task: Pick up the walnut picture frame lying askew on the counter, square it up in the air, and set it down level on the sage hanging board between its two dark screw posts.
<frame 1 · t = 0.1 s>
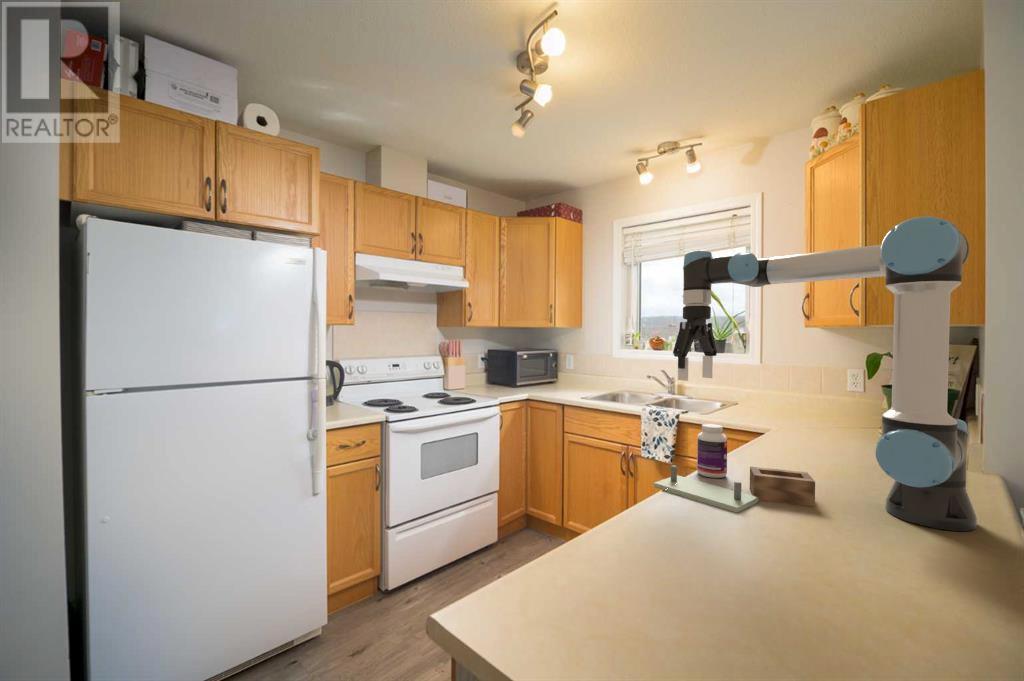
hand: (695, 379, 133), 28 cm above the countertop, fingers open, 13 cm apart
frame: (780, 497, 115), on the countertop
rail board: (703, 494, 117), on the countertop
pill bottle: (711, 475, 133), on the countertop
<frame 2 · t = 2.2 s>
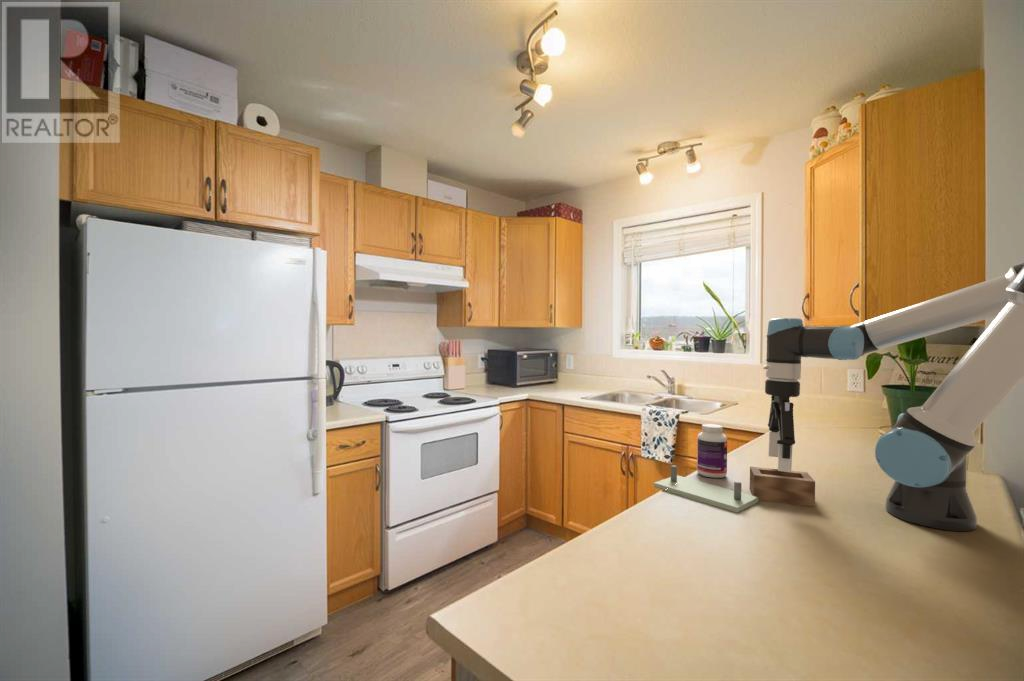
hand: (779, 463, 116), 8 cm above the countertop, fingers open, 13 cm apart
nothing on the countertop moved.
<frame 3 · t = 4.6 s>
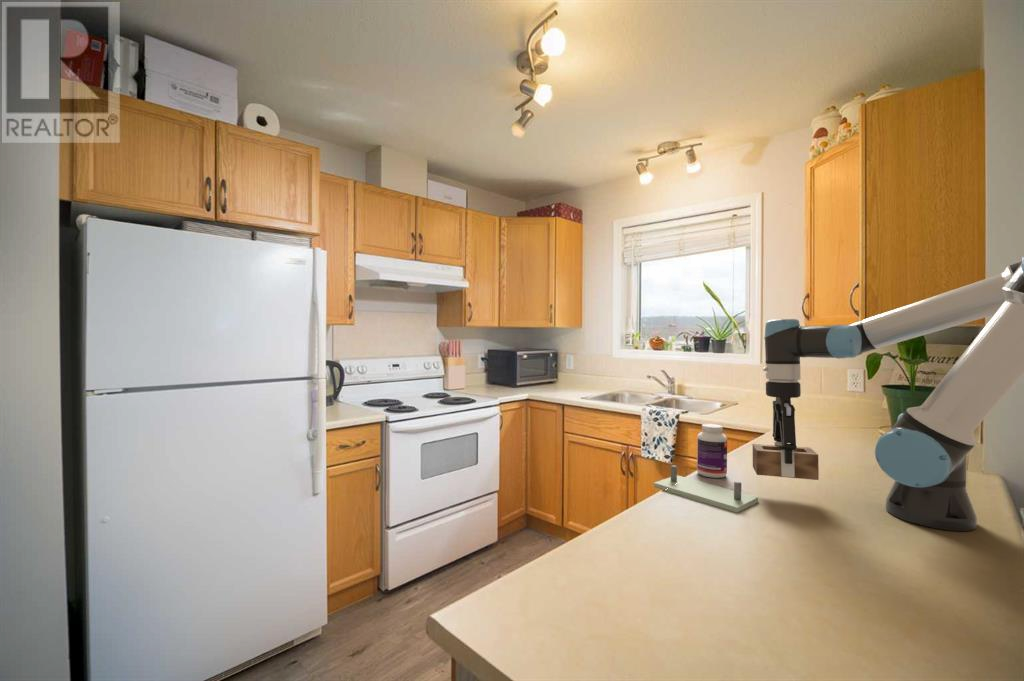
hand: (784, 471, 115), 7 cm above the countertop, fingers closed on frame, 8 cm apart
frame: (783, 473, 115), point 6 cm above the countertop, touching gripper
everything else where it was.
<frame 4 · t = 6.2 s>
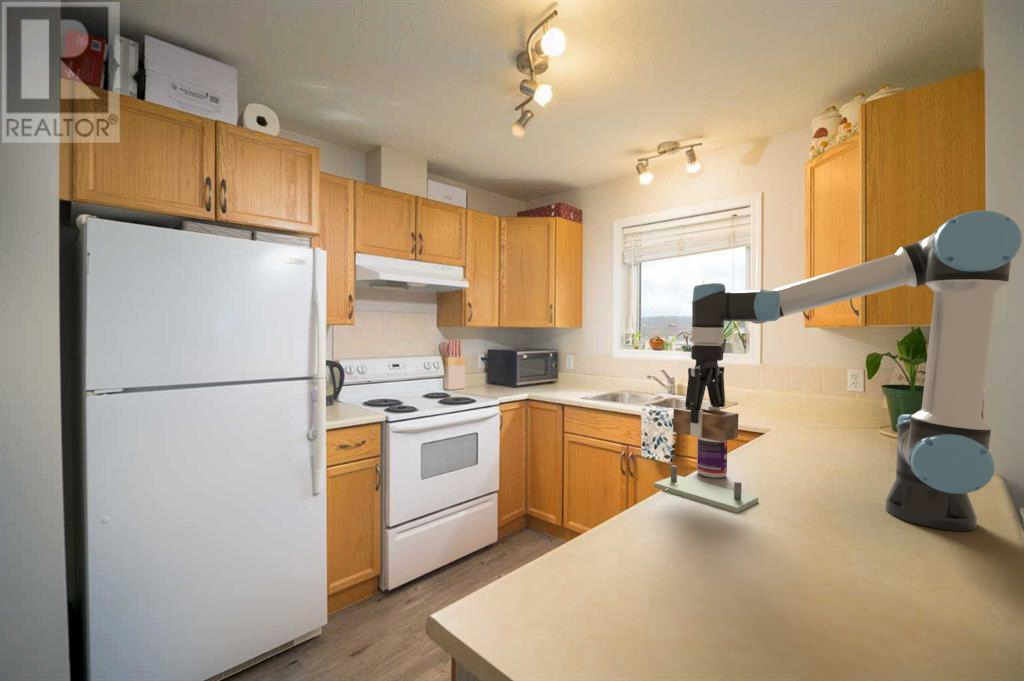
hand: (705, 433, 117), 15 cm above the countertop, fingers closed on frame, 8 cm apart
frame: (704, 434, 117), point 15 cm above the countertop, touching gripper
everything else where it was.
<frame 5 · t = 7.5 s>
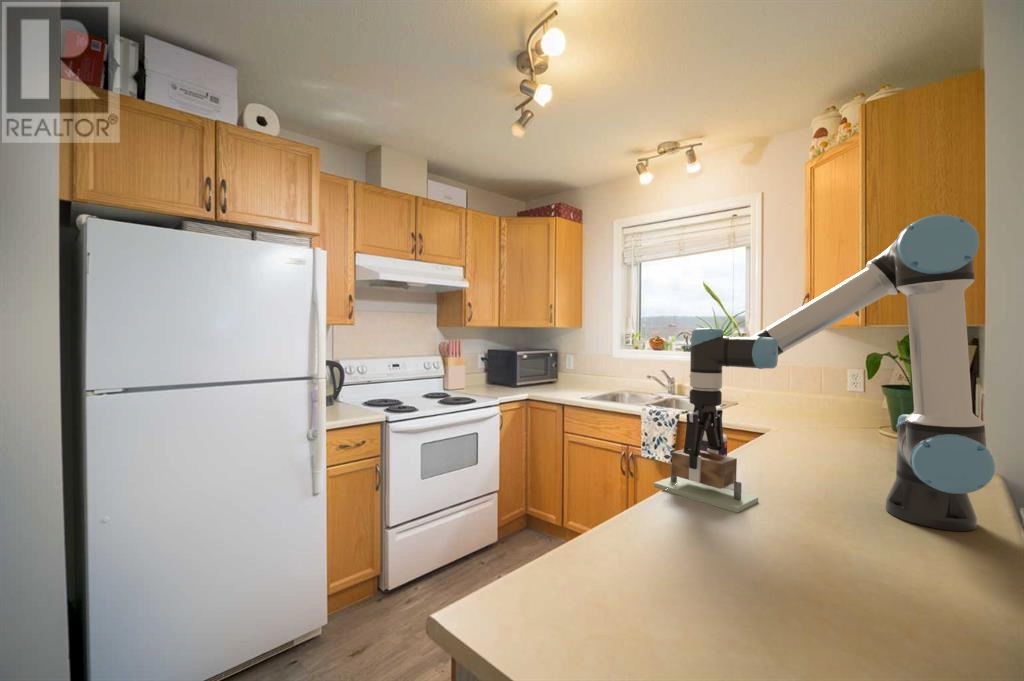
hand: (703, 477, 117), 4 cm above the countertop, fingers closed on frame, 8 cm apart
frame: (703, 478, 117), point 4 cm above the countertop, touching gripper
everything else where it was.
when the fingers open (2 cm above the countertop, at t = 8.2 s): frame stays where it is, resting on rail board.
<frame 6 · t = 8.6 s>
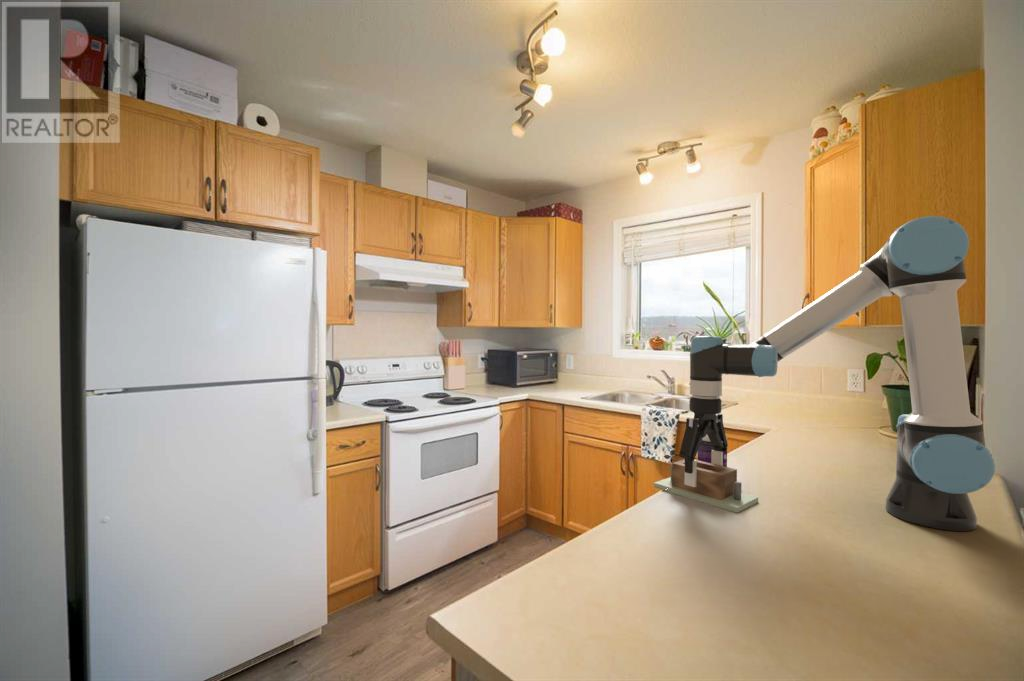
hand: (703, 480, 117), 4 cm above the countertop, fingers open, 12 cm apart
frame: (703, 489, 117), point 1 cm above the countertop, touching rail board
everything else where it was.
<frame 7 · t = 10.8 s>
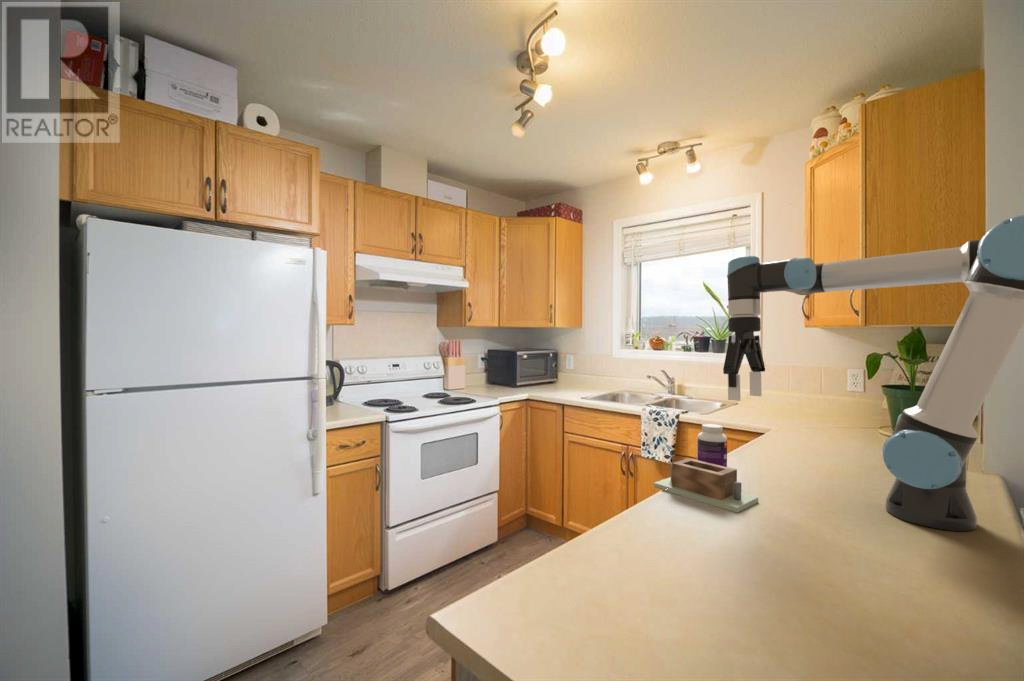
hand: (745, 398, 120), 24 cm above the countertop, fingers open, 13 cm apart
nothing on the countertop moved.
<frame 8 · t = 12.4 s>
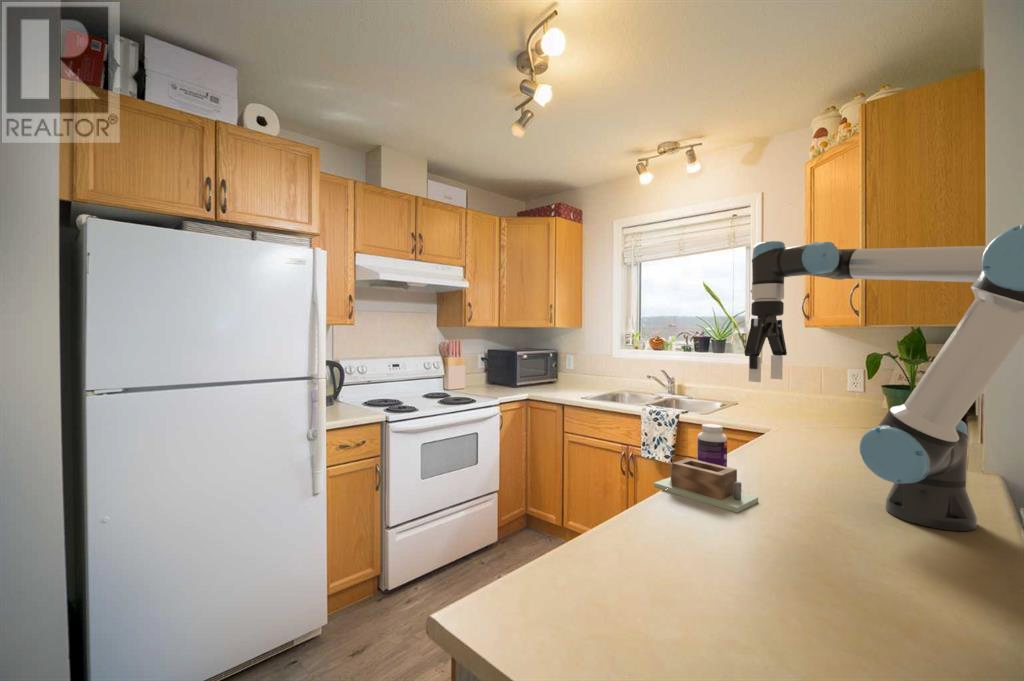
hand: (765, 380, 123), 29 cm above the countertop, fingers open, 13 cm apart
nothing on the countertop moved.
at the end: frame 0.1 cm off-centre on the rail board, point 1.2 cm above the rail board's base; frame tilted 0°; the gripper is holding nothing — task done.
